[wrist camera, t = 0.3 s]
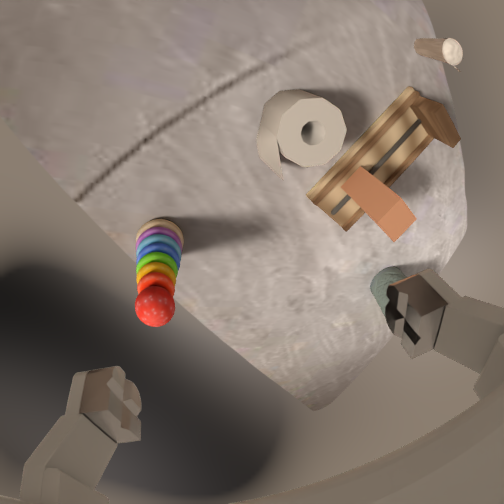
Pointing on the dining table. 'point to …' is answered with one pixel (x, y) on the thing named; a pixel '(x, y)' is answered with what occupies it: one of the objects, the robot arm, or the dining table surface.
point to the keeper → (379, 203)
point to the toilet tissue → (299, 130)
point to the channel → (384, 151)
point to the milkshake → (440, 49)
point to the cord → (381, 161)
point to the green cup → (385, 284)
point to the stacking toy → (157, 270)
